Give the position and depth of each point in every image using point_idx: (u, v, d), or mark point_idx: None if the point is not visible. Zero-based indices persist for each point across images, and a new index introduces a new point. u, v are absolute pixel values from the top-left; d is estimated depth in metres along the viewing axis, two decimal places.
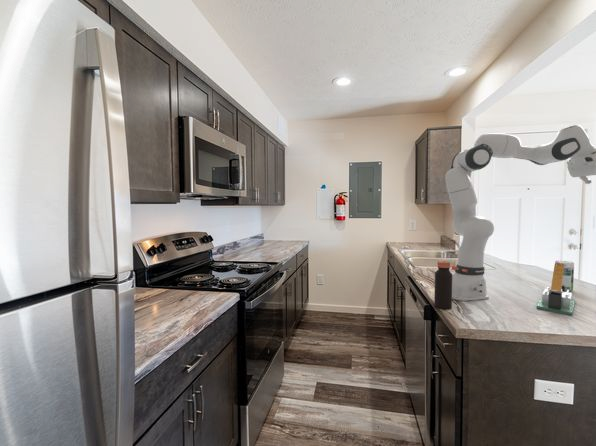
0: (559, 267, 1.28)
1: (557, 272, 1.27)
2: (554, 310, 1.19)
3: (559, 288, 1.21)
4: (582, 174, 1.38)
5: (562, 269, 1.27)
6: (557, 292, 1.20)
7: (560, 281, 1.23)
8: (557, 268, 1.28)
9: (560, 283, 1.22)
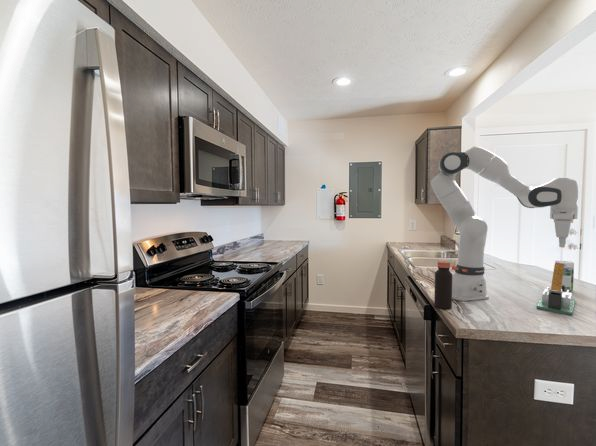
0: (559, 267, 1.28)
1: (557, 272, 1.27)
2: (554, 310, 1.19)
3: (559, 288, 1.21)
4: None
5: (562, 269, 1.27)
6: (557, 292, 1.20)
7: (560, 281, 1.23)
8: (557, 268, 1.28)
9: (560, 283, 1.22)
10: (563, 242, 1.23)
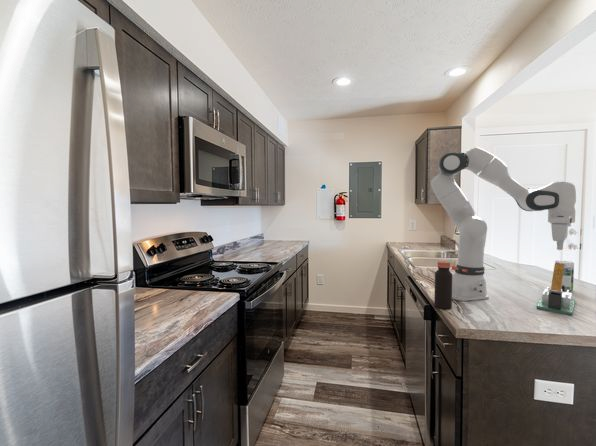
0: (559, 267, 1.28)
1: (557, 272, 1.27)
2: (554, 310, 1.19)
3: (559, 288, 1.21)
4: None
5: (562, 269, 1.27)
6: (557, 292, 1.20)
7: (560, 281, 1.23)
8: (557, 268, 1.28)
9: (560, 283, 1.22)
10: (561, 245, 1.25)
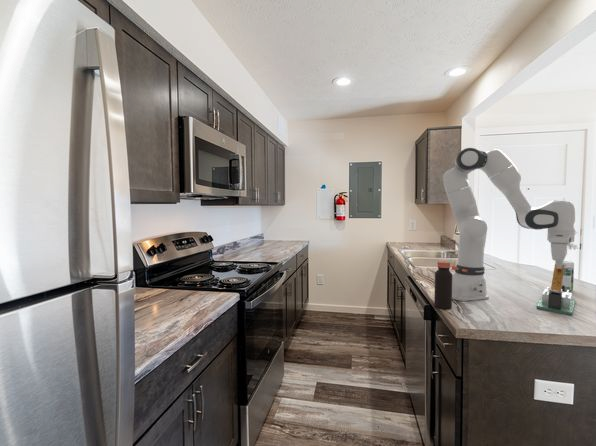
0: None
1: (557, 273, 1.27)
2: (554, 310, 1.19)
3: (559, 288, 1.21)
4: None
5: (562, 270, 1.27)
6: (557, 292, 1.20)
7: (560, 281, 1.23)
8: (557, 269, 1.28)
9: (560, 283, 1.22)
10: (560, 263, 1.26)
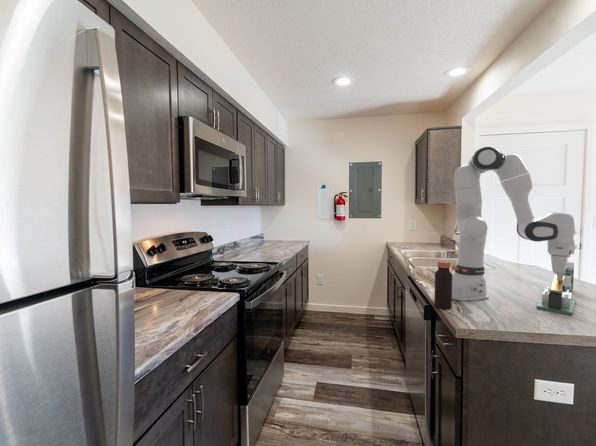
0: None
1: (557, 280, 1.28)
2: (554, 310, 1.19)
3: (559, 289, 1.21)
4: None
5: None
6: (557, 291, 1.20)
7: (560, 285, 1.24)
8: None
9: (560, 287, 1.23)
10: (561, 275, 1.26)
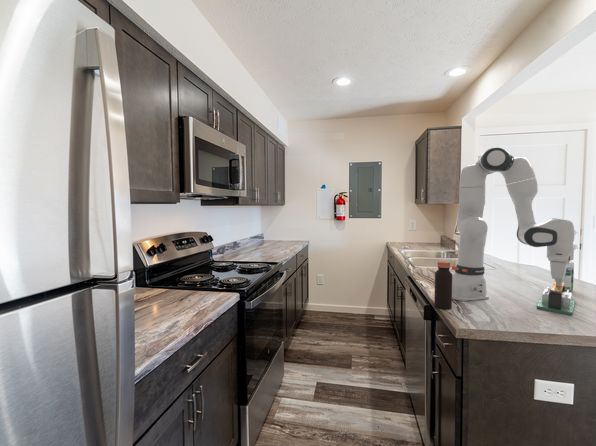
0: None
1: None
2: (554, 310, 1.19)
3: (559, 290, 1.21)
4: None
5: (562, 284, 1.29)
6: (557, 291, 1.20)
7: (560, 288, 1.24)
8: None
9: (560, 289, 1.23)
10: (559, 281, 1.26)
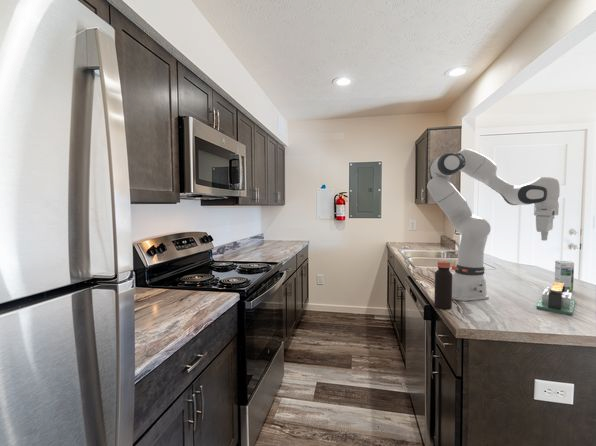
0: (559, 283, 1.31)
1: (556, 285, 1.29)
2: (554, 310, 1.19)
3: (559, 290, 1.21)
4: None
5: (562, 284, 1.29)
6: (557, 291, 1.20)
7: (560, 288, 1.24)
8: (557, 283, 1.31)
9: (560, 289, 1.23)
10: (545, 236, 1.36)
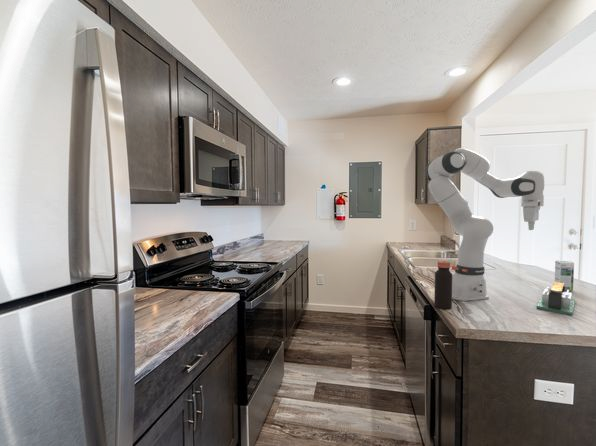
0: (559, 283, 1.31)
1: (556, 285, 1.29)
2: (554, 310, 1.19)
3: (559, 290, 1.21)
4: None
5: (562, 284, 1.29)
6: (557, 291, 1.20)
7: (560, 288, 1.24)
8: (557, 283, 1.31)
9: (560, 289, 1.23)
10: (531, 225, 1.46)
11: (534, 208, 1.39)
